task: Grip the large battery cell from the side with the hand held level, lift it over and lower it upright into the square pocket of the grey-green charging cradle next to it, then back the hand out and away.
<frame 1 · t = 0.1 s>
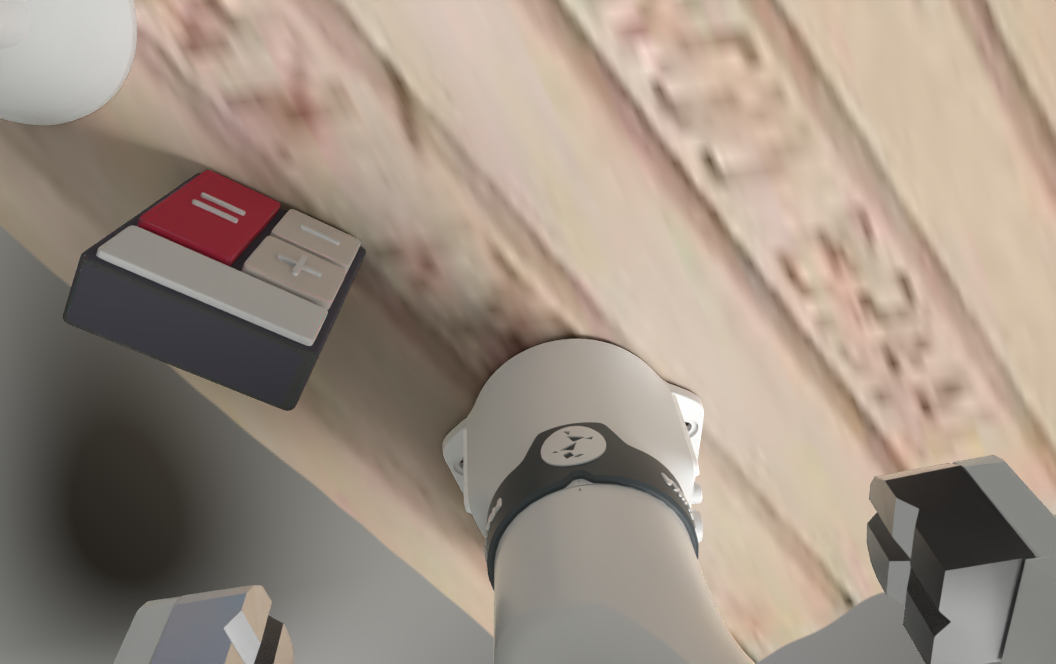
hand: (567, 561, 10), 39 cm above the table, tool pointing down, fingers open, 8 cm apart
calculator: (278, 228, 49), on the table
candlestick: (18, 5, 43), on the table
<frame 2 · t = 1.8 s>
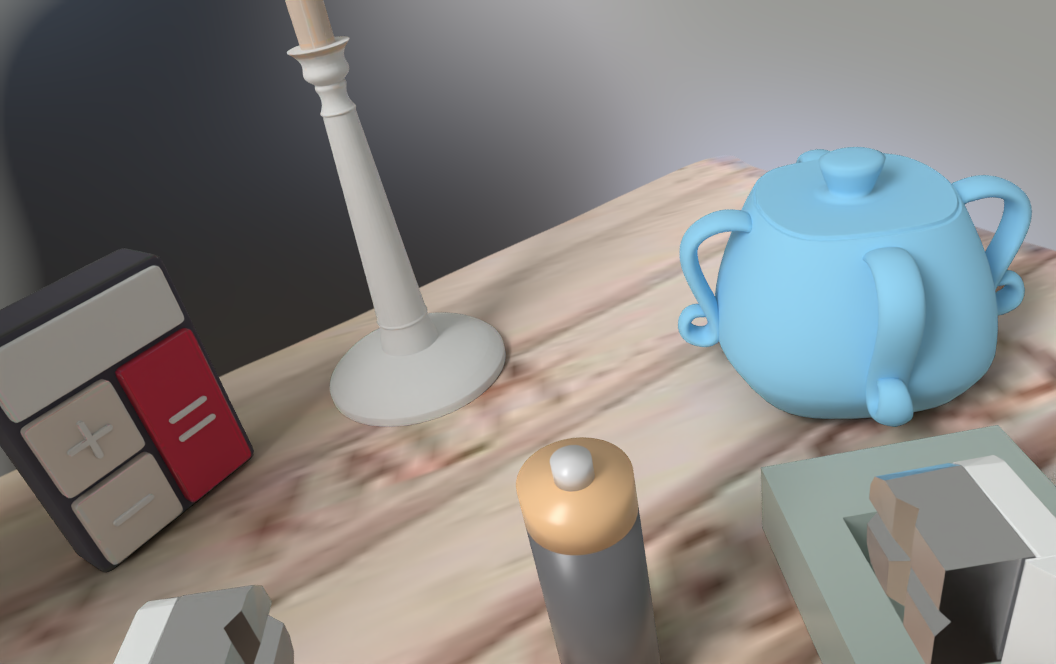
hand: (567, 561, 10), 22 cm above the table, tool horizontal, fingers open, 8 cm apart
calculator: (175, 506, 48), on the table
charging cradle: (949, 629, 32), on the table
decorative pot: (842, 366, 48), on the table
candlestick: (419, 371, 56), on the table
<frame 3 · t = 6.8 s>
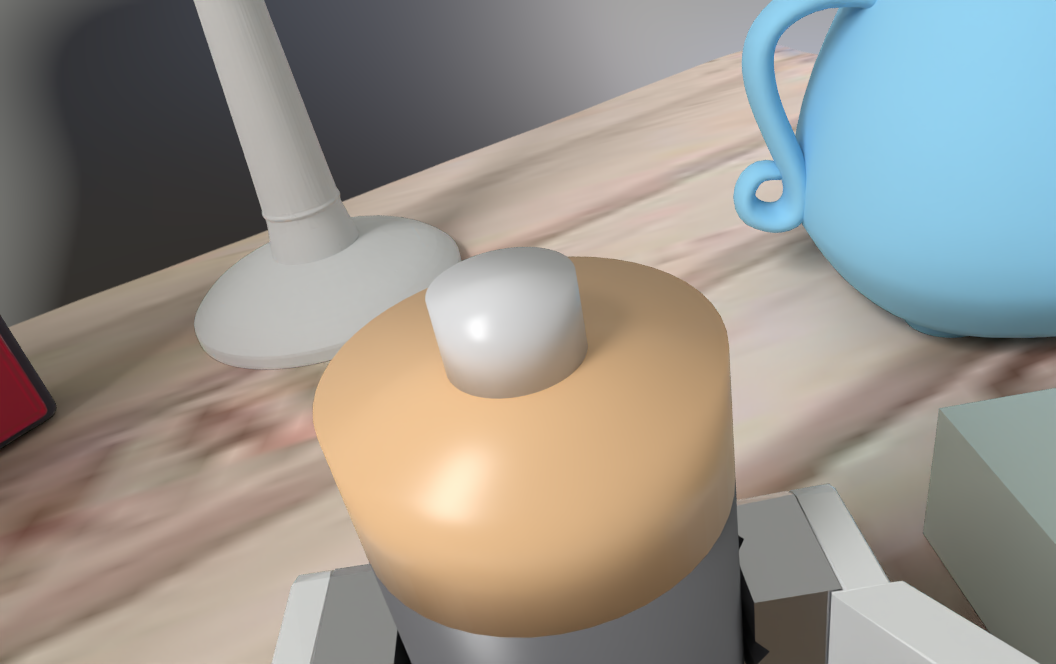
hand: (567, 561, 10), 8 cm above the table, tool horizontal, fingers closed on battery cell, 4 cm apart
decorative pot: (1001, 268, 29), on the table
candlestick: (334, 295, 37), on the table
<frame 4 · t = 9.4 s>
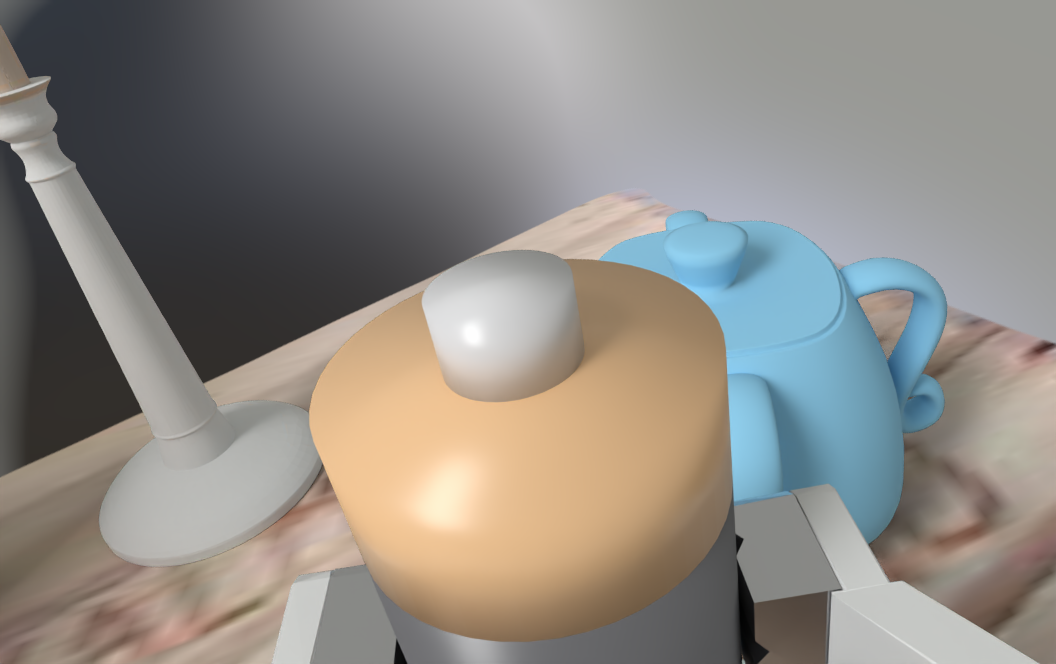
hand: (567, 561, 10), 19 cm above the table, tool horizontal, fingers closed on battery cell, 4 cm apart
decorative pot: (721, 488, 37), on the table
candlestick: (219, 481, 45), on the table
when the fingers open (10 cm above the table, at t = 12.4 s): battery cell drops 1 cm, resting on charging cradle.
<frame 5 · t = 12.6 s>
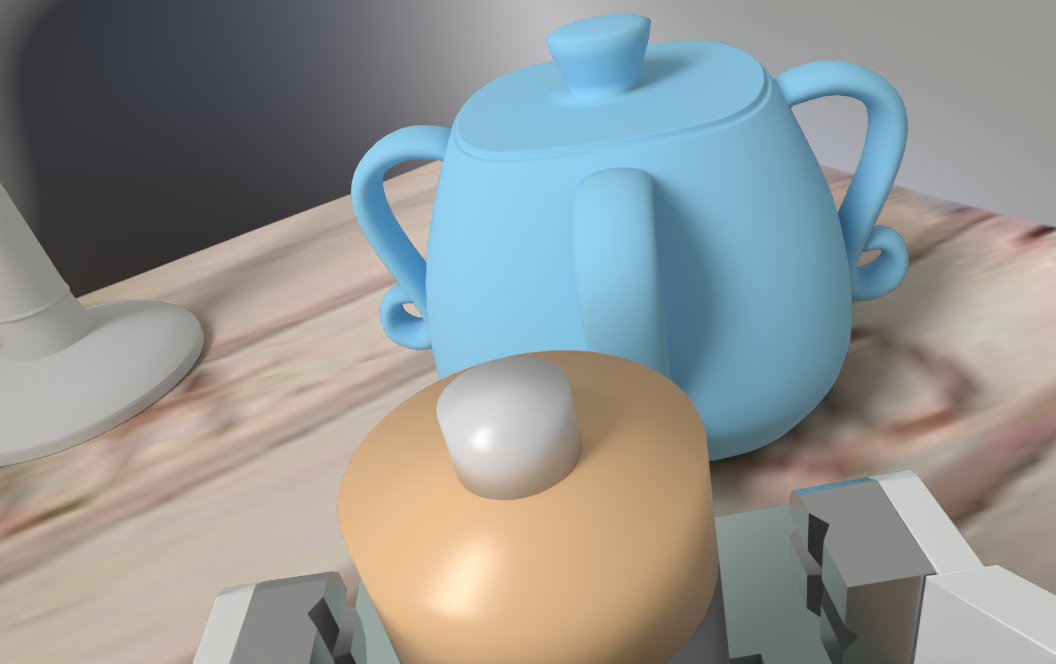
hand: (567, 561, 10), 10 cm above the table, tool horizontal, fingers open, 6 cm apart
decorative pot: (641, 380, 31), on the table
candlestick: (79, 383, 39), on the table
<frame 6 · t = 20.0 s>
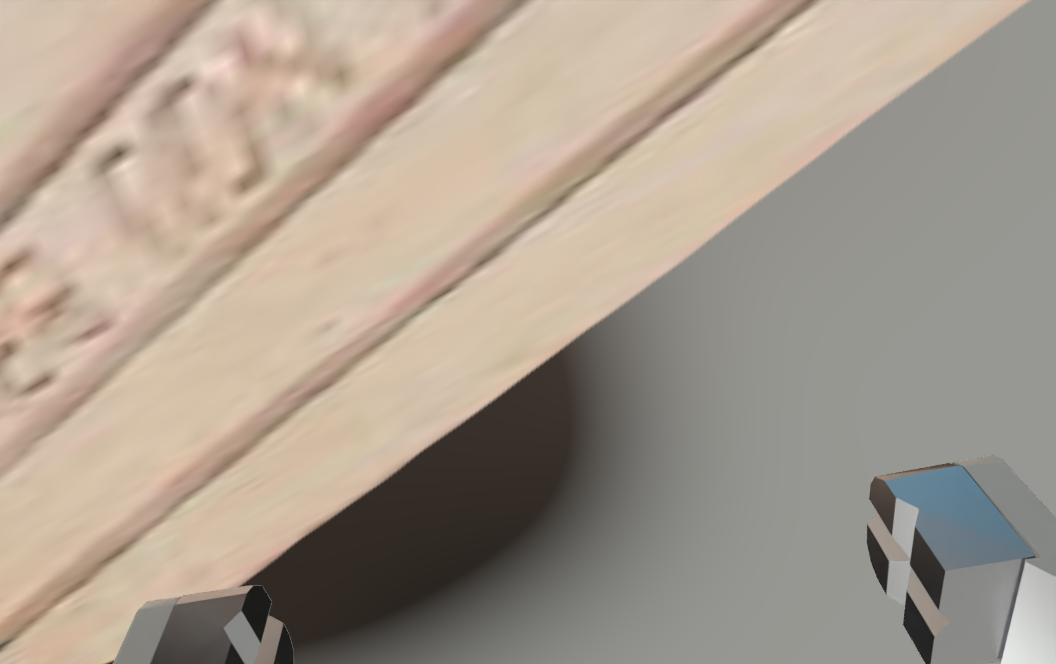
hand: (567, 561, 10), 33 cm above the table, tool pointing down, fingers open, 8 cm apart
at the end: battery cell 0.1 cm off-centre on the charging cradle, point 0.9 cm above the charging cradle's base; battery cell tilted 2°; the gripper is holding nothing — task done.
